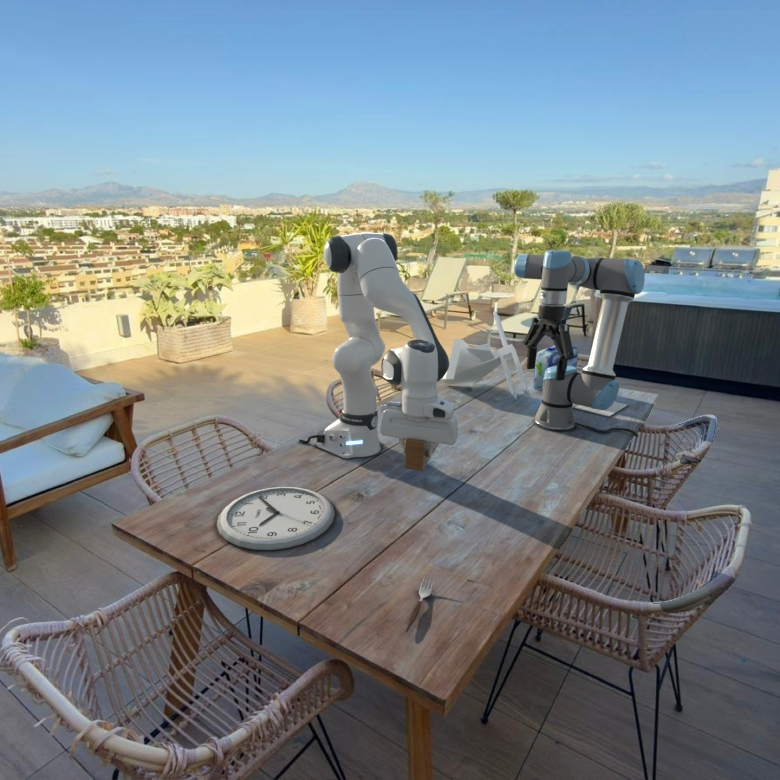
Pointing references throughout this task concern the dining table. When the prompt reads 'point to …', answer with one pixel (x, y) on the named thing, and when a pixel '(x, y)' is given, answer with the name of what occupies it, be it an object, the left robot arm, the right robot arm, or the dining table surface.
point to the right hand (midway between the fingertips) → (544, 374)
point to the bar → (417, 454)
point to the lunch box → (549, 364)
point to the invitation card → (608, 412)
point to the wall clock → (275, 518)
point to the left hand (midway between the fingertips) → (417, 454)
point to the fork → (423, 593)
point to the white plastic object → (482, 362)
